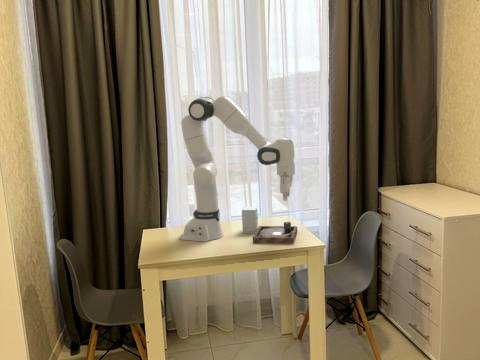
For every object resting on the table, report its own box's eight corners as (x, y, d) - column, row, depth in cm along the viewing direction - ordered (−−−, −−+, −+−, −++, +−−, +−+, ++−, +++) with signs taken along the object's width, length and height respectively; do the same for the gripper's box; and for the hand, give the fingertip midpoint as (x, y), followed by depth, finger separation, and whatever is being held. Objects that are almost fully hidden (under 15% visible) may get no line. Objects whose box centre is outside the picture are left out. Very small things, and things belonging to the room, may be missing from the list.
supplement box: (256, 233, 258) (255, 210, 255) (242, 233, 259) (241, 210, 257) (258, 229, 265) (257, 206, 263) (245, 229, 266) (243, 206, 264)
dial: (256, 239, 244) (255, 226, 243) (264, 230, 259) (264, 217, 258) (287, 240, 239) (287, 227, 238) (294, 231, 254) (294, 218, 253)
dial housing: (252, 243, 242) (252, 236, 241) (259, 231, 261) (259, 225, 260) (293, 243, 238) (293, 237, 237) (297, 231, 257) (297, 225, 256)
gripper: (289, 174, 231) (290, 203, 234) (294, 167, 251) (294, 194, 253) (276, 174, 232) (277, 203, 235) (282, 167, 252) (282, 193, 255)
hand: (286, 198), depth 244 cm, fingers open, 8 cm apart
